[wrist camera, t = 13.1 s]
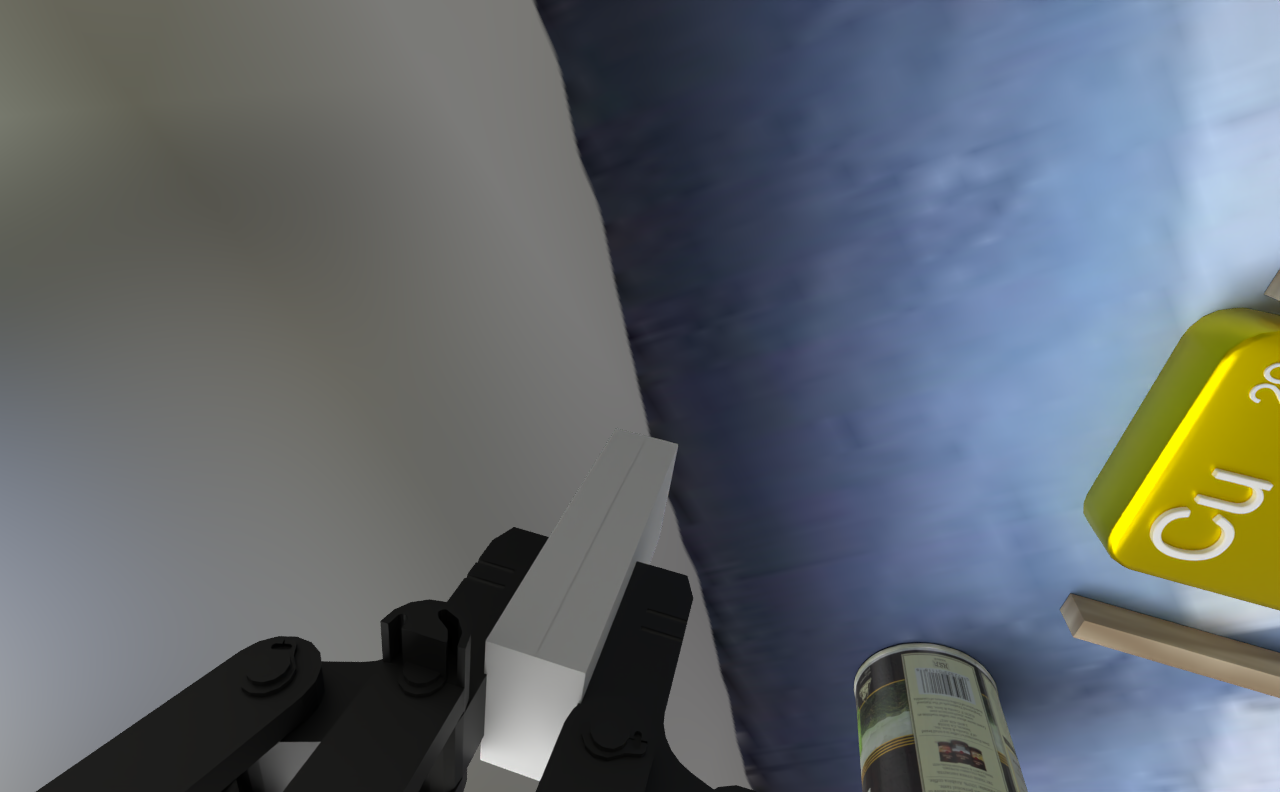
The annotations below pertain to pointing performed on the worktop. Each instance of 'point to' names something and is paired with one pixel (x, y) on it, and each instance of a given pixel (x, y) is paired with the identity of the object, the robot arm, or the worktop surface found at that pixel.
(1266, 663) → the wooden bay
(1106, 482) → the element tile
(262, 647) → the robot arm
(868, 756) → the coffee can
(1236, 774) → the worktop surface
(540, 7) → the worktop surface
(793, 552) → the worktop surface
